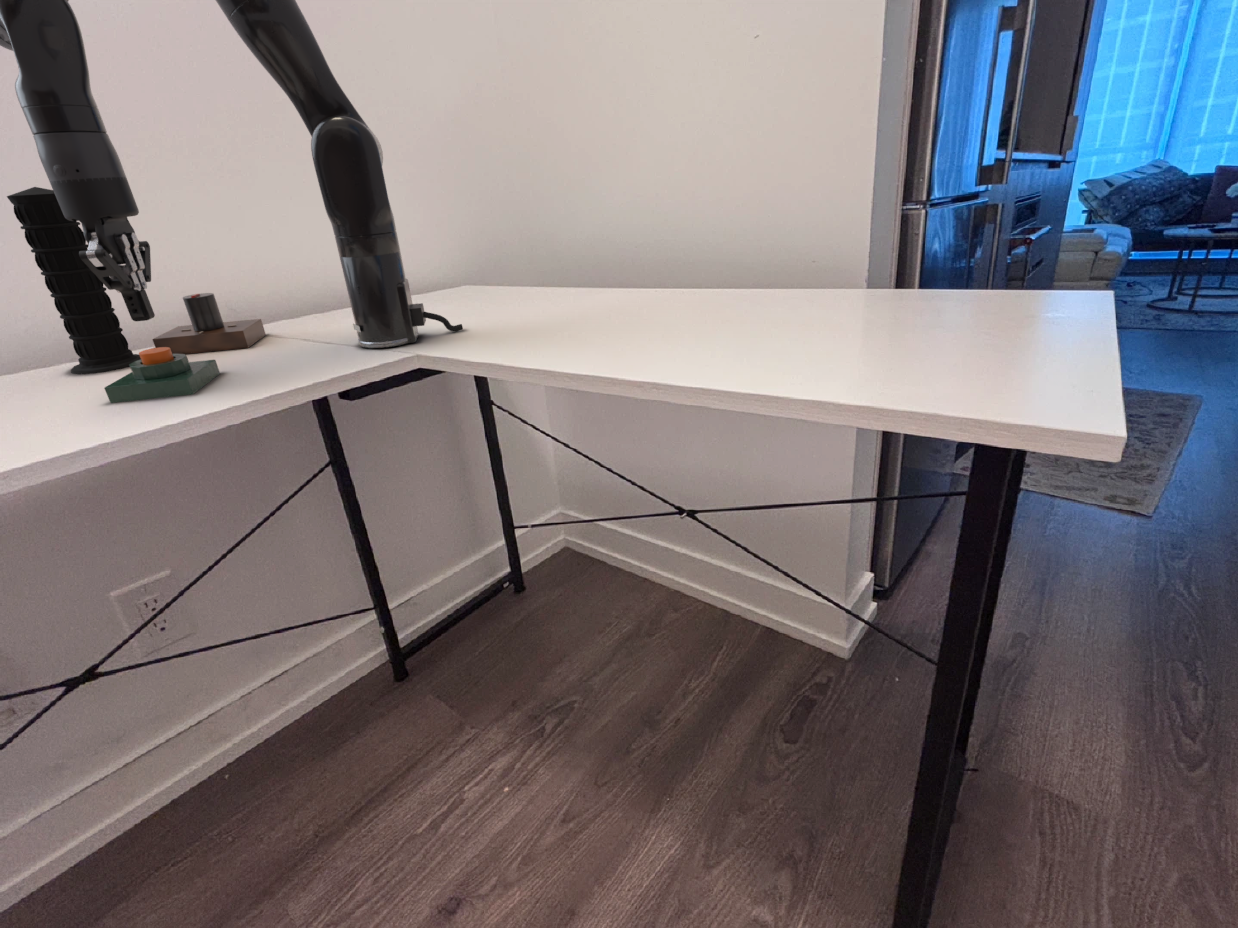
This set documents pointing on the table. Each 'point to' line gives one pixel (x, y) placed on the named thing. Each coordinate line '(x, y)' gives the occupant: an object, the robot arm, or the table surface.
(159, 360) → the button
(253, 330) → the panel
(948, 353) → the table surface
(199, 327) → the dial
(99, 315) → the handle grip
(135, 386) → the button box
